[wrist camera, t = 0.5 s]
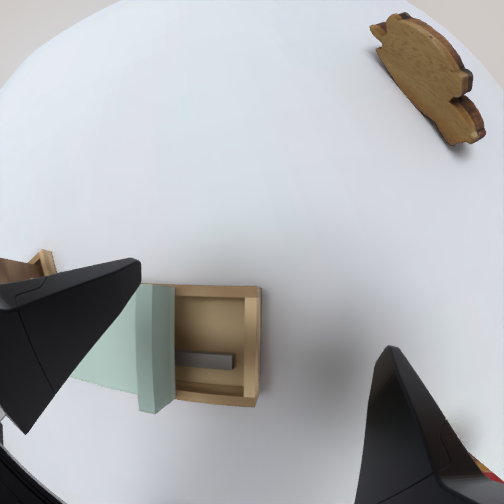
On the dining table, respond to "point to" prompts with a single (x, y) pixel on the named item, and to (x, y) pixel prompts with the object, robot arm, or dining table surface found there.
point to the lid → (137, 350)
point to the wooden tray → (217, 344)
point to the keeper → (44, 262)
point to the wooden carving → (430, 76)
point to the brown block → (18, 271)
